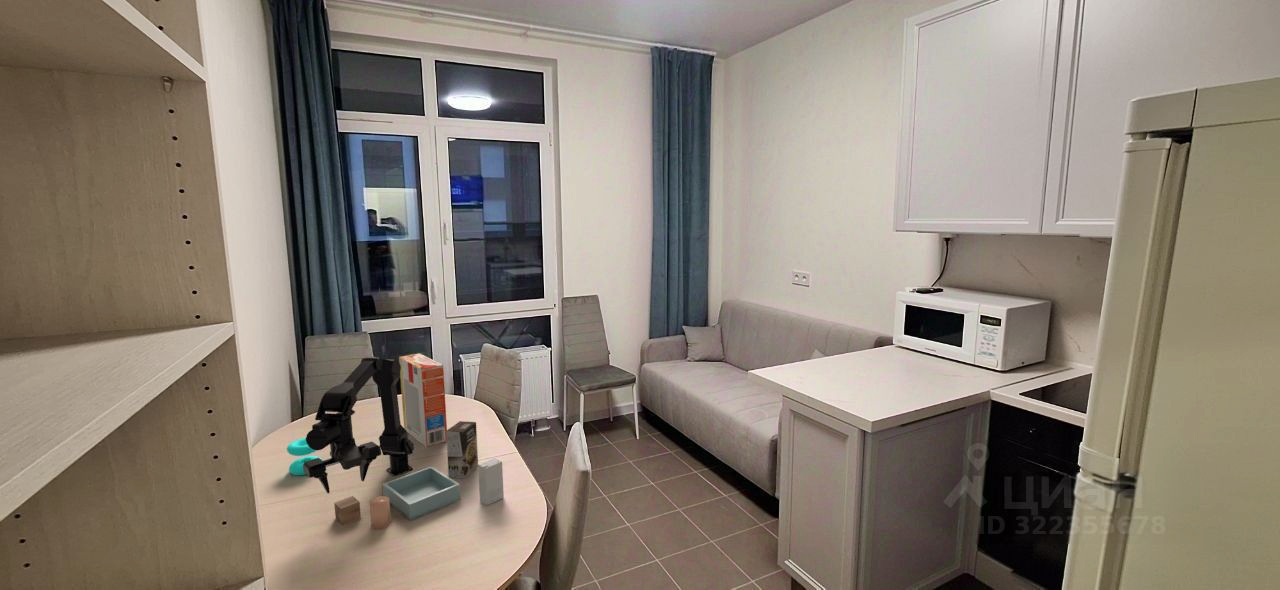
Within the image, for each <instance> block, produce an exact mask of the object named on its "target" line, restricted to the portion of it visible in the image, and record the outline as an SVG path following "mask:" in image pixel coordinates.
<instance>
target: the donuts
mask: <svg viewBox="0 0 1280 590" xmlns="http://www.w3.org/2000/svg"><path fill="white" fill-rule="evenodd" d="M286 451H287V453H288V454H289V455H291V456H295V457H299V458H297V459H295V460H293V462H291V463H290V465H289V467H288V471H289V473H290V474H291V475H293V476H305V475H307V474H306V473H305V472H304V471H303V464H304V463H305V462H306V461H309V460H312V459H316V458H320V459H321V460H322V461H324V459H323V458H322V457H320V456H316V455H310V454H313V453H316V452H317V451H318V450H313V449H311V448H310V447H309V446H308V445H307V443H306V437H303V438H299V439H296V440H294V441H292V442H290V443H289V444H288V445H287V447H286ZM308 455H309V456H308Z"/></svg>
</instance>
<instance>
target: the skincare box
mask: <svg viewBox="0 0 1280 590" xmlns="http://www.w3.org/2000/svg"><path fill="white" fill-rule="evenodd" d="M477 471H478V475H477V476H478V489H479V490H478V492H479V501H480V502H481V503H482V504H484V505H485V506H489V505H491V504H493V503H495V502H498V501H500V500H501V499H504V496H505V495H504V477H503V462H502V461H501V460H500V459H498V458H495V457H494V458H491V459H488V460H486V461H484V462H481V463H478V467H477Z"/></svg>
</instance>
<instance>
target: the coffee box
mask: <svg viewBox="0 0 1280 590" xmlns="http://www.w3.org/2000/svg"><path fill="white" fill-rule="evenodd" d="M477 431H478V430H477V422H476V421H458V422H457V423H455V424H454V425H452V426H451V427H449V428H447V431H446V436H447V441H446V452H447V453H446V454H447V472H448V474H447V476H448V477H449V478H458V479H466V478H467V477H468V476H469V475H470V474H472V473H473V472H474V471H475V470H476V469H478V465H479V458H478V457H479V456H478V454H479V453H478V435H477Z"/></svg>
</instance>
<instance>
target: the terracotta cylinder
mask: <svg viewBox="0 0 1280 590" xmlns="http://www.w3.org/2000/svg"><path fill="white" fill-rule="evenodd" d="M368 504H369V515H370V517H369V518H370V527H371V529H373V530H380V529H381V530H382V529H384V528H387V527H388V526H390V525H391V522H392V520H391V505H390V504H389V498H388V497H386V496H384V495H383V496H382V495H380V496H377V497H374V498H372V499H370V500H369V502H368Z"/></svg>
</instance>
